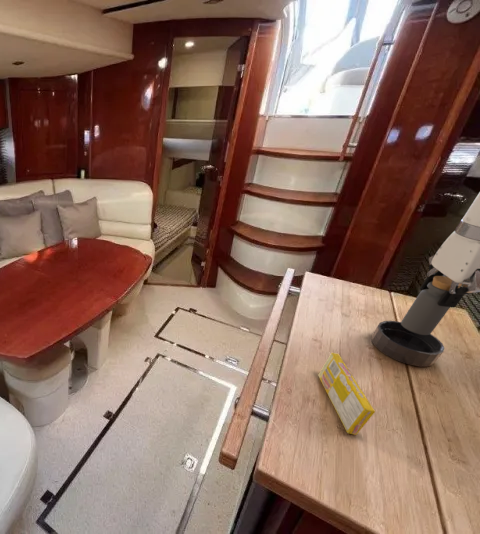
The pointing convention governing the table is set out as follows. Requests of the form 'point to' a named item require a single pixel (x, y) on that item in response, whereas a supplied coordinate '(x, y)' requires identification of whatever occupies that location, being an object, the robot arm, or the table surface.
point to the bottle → (427, 307)
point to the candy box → (345, 394)
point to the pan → (406, 344)
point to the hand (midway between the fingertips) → (436, 297)
